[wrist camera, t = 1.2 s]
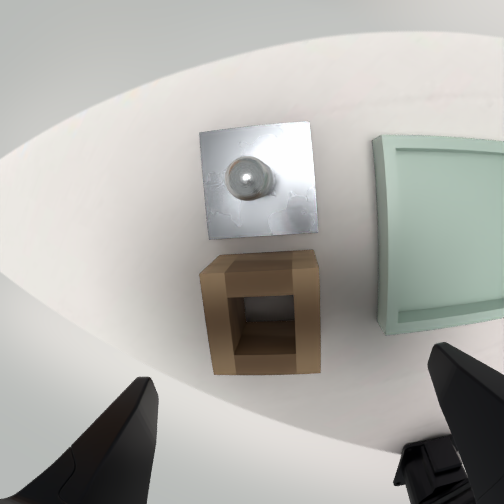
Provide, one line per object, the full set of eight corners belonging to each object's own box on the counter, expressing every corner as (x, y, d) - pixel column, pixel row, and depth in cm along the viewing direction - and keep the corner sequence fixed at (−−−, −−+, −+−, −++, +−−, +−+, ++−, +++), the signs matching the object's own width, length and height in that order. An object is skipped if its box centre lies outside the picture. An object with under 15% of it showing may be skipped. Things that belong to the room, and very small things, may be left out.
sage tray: (510, 302, 20) (526, 313, 18) (377, 320, 22) (385, 335, 20) (514, 147, 18) (532, 145, 15) (372, 140, 20) (381, 134, 17)
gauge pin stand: (316, 230, 21) (327, 249, 15) (213, 236, 22) (179, 258, 16) (308, 124, 20) (314, 97, 13) (204, 135, 21) (166, 115, 14)
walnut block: (316, 336, 23) (320, 372, 18) (229, 339, 24) (213, 374, 19) (313, 249, 22) (318, 267, 17) (219, 255, 23) (199, 273, 18)
